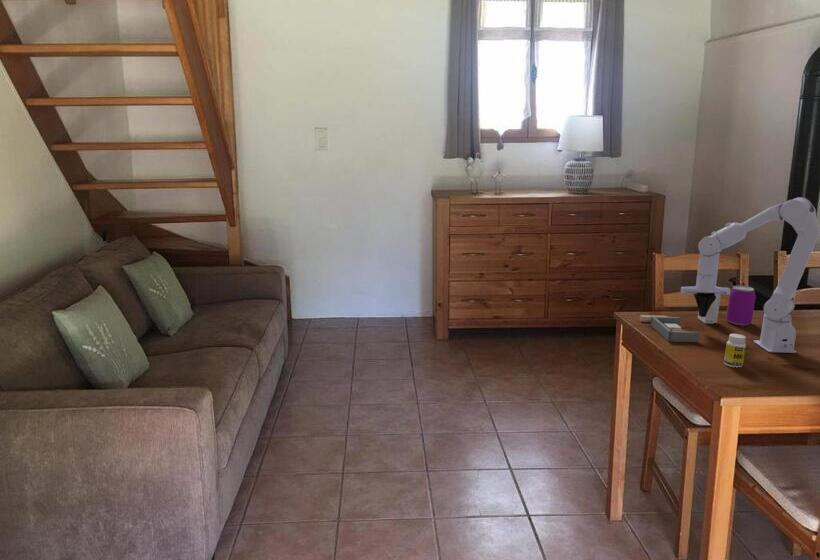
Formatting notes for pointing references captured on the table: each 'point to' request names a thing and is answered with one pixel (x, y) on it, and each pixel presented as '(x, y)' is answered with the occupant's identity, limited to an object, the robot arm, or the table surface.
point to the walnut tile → (677, 330)
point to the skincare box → (712, 311)
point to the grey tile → (672, 326)
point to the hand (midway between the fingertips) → (702, 316)
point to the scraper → (648, 317)
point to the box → (673, 335)
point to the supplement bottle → (735, 350)
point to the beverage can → (741, 305)
